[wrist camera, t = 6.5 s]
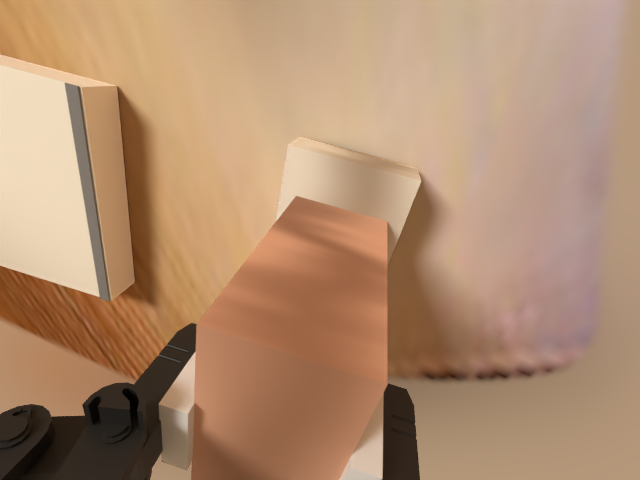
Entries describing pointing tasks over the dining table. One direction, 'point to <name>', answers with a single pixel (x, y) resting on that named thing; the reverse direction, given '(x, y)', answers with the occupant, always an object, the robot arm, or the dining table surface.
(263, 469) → the stub
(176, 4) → the dining table surface
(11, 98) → the white flat block
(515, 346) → the dining table surface
